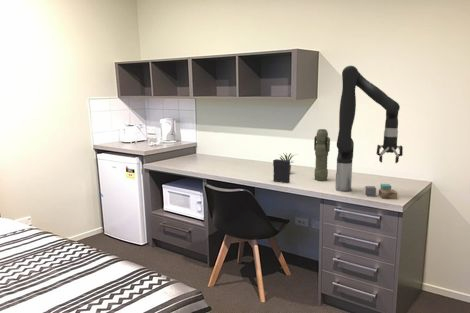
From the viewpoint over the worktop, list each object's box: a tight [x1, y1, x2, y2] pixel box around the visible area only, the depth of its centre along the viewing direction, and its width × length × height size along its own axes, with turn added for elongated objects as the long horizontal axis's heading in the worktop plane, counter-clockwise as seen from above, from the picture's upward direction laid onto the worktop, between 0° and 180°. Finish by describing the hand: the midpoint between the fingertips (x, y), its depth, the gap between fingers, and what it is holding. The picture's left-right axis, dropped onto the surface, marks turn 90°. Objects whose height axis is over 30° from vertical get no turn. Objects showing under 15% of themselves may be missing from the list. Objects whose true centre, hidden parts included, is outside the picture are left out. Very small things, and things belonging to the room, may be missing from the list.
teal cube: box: [379, 183, 392, 189], centre depth 232 cm, size 5×5×5 cm
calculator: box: [272, 158, 291, 184], centre depth 262 cm, size 11×4×15 cm, turn 56°
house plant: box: [278, 152, 299, 172], centre depth 289 cm, size 14×14×16 cm
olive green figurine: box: [313, 128, 331, 182], centre depth 265 cm, size 9×12×35 cm
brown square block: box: [378, 188, 398, 200], centre depth 222 cm, size 8×8×4 cm
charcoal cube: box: [365, 185, 377, 197], centre depth 227 cm, size 5×5×5 cm
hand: (388, 162), depth 230 cm, fingers open, 8 cm apart
